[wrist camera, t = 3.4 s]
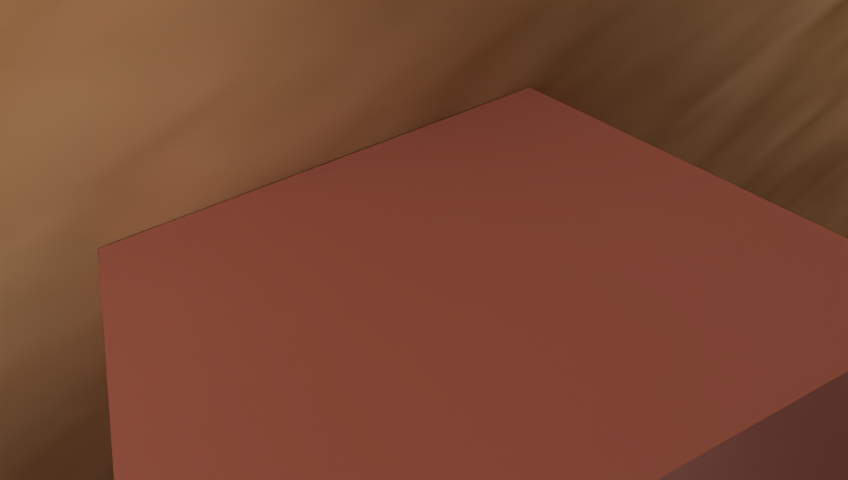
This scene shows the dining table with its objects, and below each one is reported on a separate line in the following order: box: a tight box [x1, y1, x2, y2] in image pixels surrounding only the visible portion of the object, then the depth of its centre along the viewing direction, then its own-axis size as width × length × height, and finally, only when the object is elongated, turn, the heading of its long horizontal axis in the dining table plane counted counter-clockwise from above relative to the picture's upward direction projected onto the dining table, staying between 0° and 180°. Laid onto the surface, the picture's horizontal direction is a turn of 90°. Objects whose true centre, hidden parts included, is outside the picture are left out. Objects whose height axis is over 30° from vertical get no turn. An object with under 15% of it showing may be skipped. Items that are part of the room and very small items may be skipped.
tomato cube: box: [98, 87, 848, 480], centre depth 7 cm, size 5×5×5 cm
